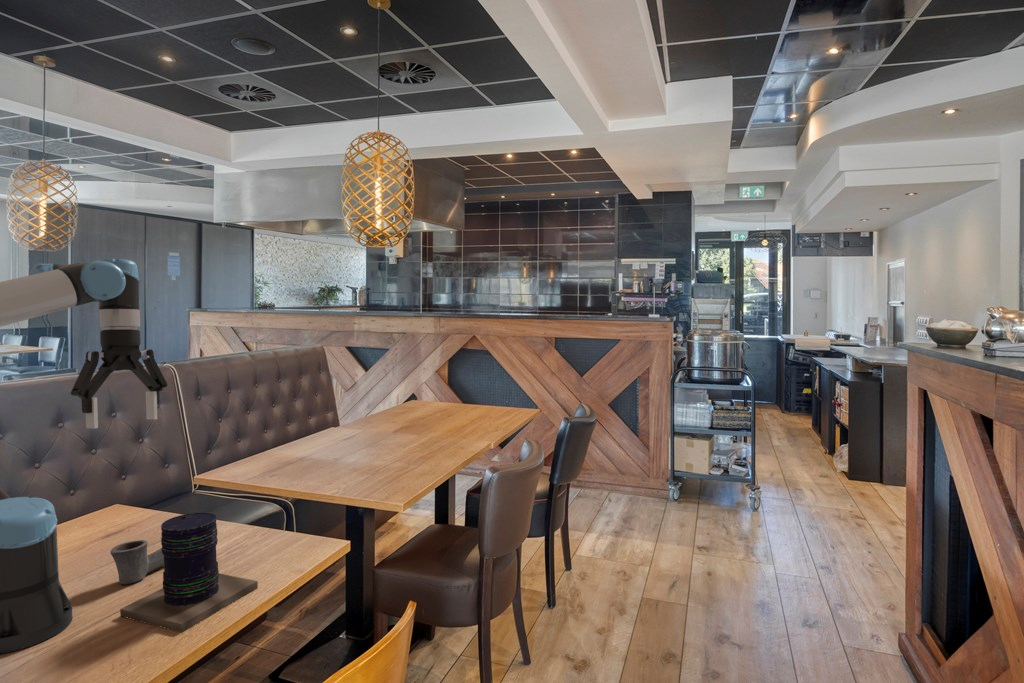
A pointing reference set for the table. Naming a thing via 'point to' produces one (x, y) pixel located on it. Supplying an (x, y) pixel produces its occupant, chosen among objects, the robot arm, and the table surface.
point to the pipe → (135, 561)
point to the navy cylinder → (189, 559)
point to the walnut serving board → (187, 616)
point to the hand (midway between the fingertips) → (123, 423)
